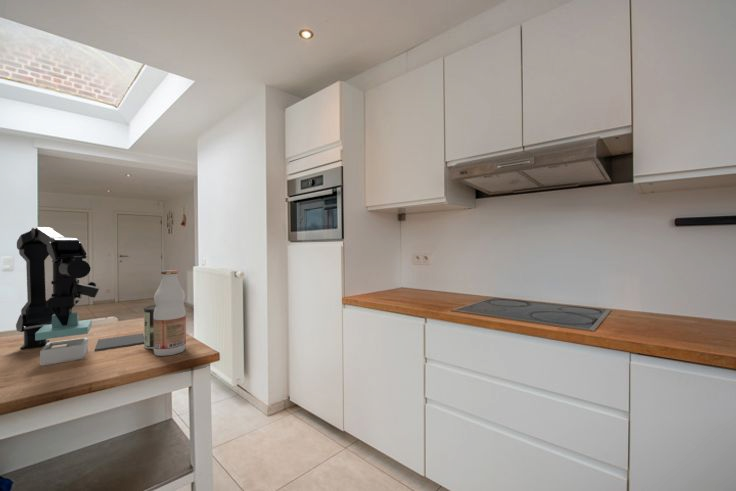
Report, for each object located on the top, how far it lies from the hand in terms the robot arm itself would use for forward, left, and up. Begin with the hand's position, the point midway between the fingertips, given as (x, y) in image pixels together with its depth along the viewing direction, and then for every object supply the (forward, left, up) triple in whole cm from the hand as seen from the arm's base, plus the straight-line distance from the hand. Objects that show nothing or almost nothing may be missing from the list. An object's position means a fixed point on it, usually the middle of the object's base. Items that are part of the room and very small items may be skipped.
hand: (65, 324), depth 103 cm
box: (0, 0, -11) cm, 11 cm away
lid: (0, 0, -3) cm, 3 cm away
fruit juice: (+14, +28, -11) cm, 33 cm away
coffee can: (+3, +26, -11) cm, 28 cm away
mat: (-9, +14, -11) cm, 20 cm away
